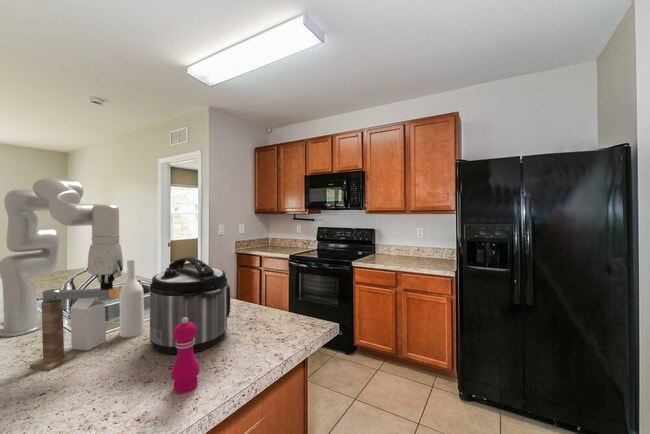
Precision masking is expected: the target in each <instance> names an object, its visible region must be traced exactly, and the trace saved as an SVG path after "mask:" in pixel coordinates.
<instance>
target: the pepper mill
mask: <svg viewBox="0 0 650 434" xmlns="http://www.w3.org/2000/svg"><path fill="white" fill-rule="evenodd" d="M196 332H197V329H196V326H195V324H193V323H192V322H188V318H187V317H184V318H183V319H182V323H180V324H178V325H177V326H176V327H175V329H174V332H173V336H174V338H175V339H176V342H175V343H176V345H175V346H176V348H177V354H176V359H175V362H174V364H173V366H172V369H171V375H170V376H171V379H172V380H173V391H174V393H175V394H176V393H177V394H186V393H189V392H191V391H194V390H195V389H196V388H197V387H198V382H199V381H198V379H199V377H198V375H199V373H200V364H199V361H198V360H197V358H196V355H195V353H194V352H195V351H194V352H193V345H194V344H195V338H194V336H195V335H196Z"/></svg>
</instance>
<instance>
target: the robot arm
mask: <svg viewBox="0 0 650 434" xmlns="http://www.w3.org/2000/svg"><path fill="white" fill-rule="evenodd" d="M83 196H84V188H83V186H82V184H81V183H80V182H79V181H77V180H72V179H62V178H52V177H49V178H40V179H39V180H37V181H35V182H34V183H33V185H32V189H27V188H26V189H25V188H24V189H23V188H22V189H13V190H9V192H7V193H6V194H5V196H4V201H3V202H4V203H3V204H4V208H5V211H6V213H7V230H6V231H7V232H6V248H7V250H9V251H10V252H13V253H19V254H13V255H9V256H5V257H4V258H2V259H1V260H0V279H1V283H2V295H3V296H2V297H3V299H2V300H3V321H1V322H0V326H3V329H1V330H0V337H2V338H9V337H17V336H21V335H27V334H30V333H33V332H36V331H38V330H40V329H42V321H38V300H37V299H38V297H37V296H38V295H37V285H36V283H34V282H33V281H32V280H31V279H30V278H29V277H33V276H38V275H45V274H49V273H52V272H53V271H55V270H56V268H57V266H58V260H59V251H60V241H61V240H60V235H59V231H57V229H55V228H52V227H39V217H38V215H37V214H36V212H49V213H50V214H49V215H51V217H52V219H54V220H55V221H57V222H58V223H60V224H62V225H64V226H67V227H81V226H84V227H85V226H91V241H92V242H91V243H92V244H90V245H89V246H90V247H89V250H88V256H87V272H88V273H89V274H91V276H92V277H96V278H97V279H98V283H100V284H99V285H100V287H99V289H101V288H113V287H114V285H113V284H114V283H113V282H114V281H115V279H117V278H120V277H121V276H122V271H123V270H124V257H123V251H122V247H121V246H122V245H121V243H120V210H119V207H118V206H117V205H116V204H99V203H81V199H82V198H83ZM34 251H35V252H34ZM36 251H40V252H36ZM23 252H24V253H23ZM25 252H26V253H25ZM27 252H28V253H27Z"/></svg>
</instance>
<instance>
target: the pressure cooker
mask: <svg viewBox="0 0 650 434" xmlns="http://www.w3.org/2000/svg"><path fill="white" fill-rule="evenodd" d="M186 262H188V263H190V264H192V265H193V266H194V267H190V266H188V267H186V266H185V264H186ZM184 266H185V267H184ZM230 313H231V287H230V285H229V284H228V278H227V275H226V271H224V270H222V269H220V268H212V267H210V266H209V265H208V263H205V262H204V261H202V260H200V259H198V258H194V257H182V258H178V259H176V260H174V261H172V262H171V263H170V264H168V267H167V268H166V269H165V271H164V272H160V273H158V274H155V275H154V276H152V279H151V283H150V285H149V341H150V343H151V345H152V347H153V348H154V349H155V350H156V351H158V352H161V353H163V354H173V355H174V354H176V355H177V348H176V346H175V345H176V343H175V342H176V339H175V338H174V336H173V332H174V329H175V327H176V326H177V325H178V324H180V323H182V319H183V318H184V317H187V318H188V322H192V323H193V324H195V326H196V329H197V332H196V335H195V336H194V338H195V344H194V345H193V352H197V351H202V350H204V349H208V348H209V347H212V346H213V345H216V344H217V343H218V342H220V341H221V340H222V338H224V336H225V335H226V334H227V333H226V332H227V330H228V318H229V317H230Z"/></svg>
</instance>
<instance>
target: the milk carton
mask: <svg viewBox="0 0 650 434" xmlns="http://www.w3.org/2000/svg"><path fill="white" fill-rule="evenodd" d="M106 331H107V330H106V303H105V302H104V301H102V300H101V299H99V298H80V299H76V301H75V302H74V303H73V304H72V305H71V306H70V336H71V337H70V340H71V349H72V350H77V351H78V350H79V351H86V352H87V351H89V350H92V349H93V348H96V347H98V346H100V345H102V344H104V343H106V342H107V335H106Z"/></svg>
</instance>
